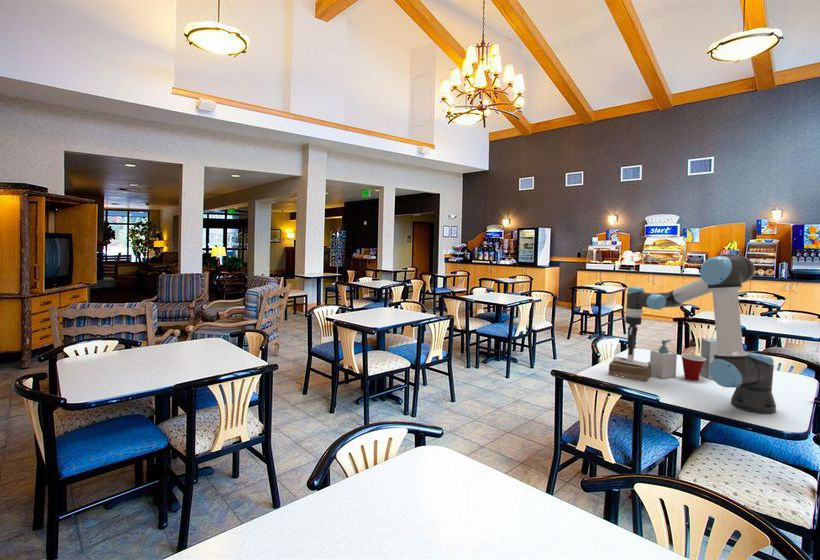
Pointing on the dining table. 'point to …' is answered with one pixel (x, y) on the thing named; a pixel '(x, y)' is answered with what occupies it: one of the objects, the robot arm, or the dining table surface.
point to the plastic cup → (692, 366)
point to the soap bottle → (663, 362)
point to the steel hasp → (631, 361)
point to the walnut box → (630, 370)
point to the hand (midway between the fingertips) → (630, 360)
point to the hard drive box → (707, 355)
